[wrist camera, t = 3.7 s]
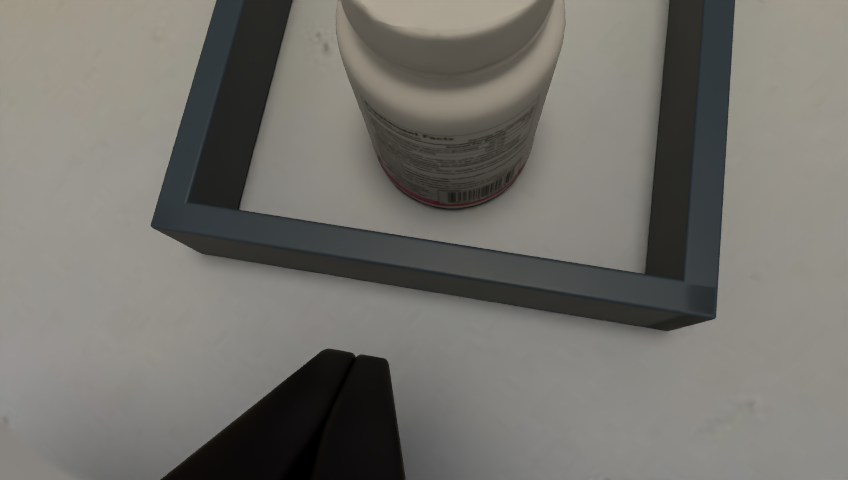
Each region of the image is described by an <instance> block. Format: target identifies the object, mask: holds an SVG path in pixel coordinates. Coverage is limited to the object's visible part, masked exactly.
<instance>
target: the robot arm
mask: <svg viewBox="0 0 848 480" xmlns="http://www.w3.org/2000/svg"><path fill="white" fill-rule="evenodd" d="M161 480H406V479H405V472H404V465H403V458H402V451H401V445H400V438H399V431H398V424H397V417H396V410H395V404H394V397H393V390H392V383H391V376H390V369H389V364H388V361H387V360H386V359H384V358H379V357H373V356H368V355H359V356H357V357H356V356H355V355H354V354H353V353H351V352H345V351H340V350H334V349H325V350H323V351H321V352H320V353H319V354H317V355H316V356H315V357H314V358H312V359H311V360H310V361H309V362H307V363H306V364H305V365H304V366H302V367H301V368H300V369H299V370H297V371H296V372H295V373H294V374H292V375H291V376H290V377H289V378H287V379H286V380H285V381H284V382H282V383H281V384H280V385H279V386H277V387H276V388H275V389H274V390H272V391H271V392H270V393H269V394H267V395H266V396H265V397H263V398H262V399H261V400H260V401H258V402H257V403H256V404H255V405H253V406H252V407H251V408H250V409H248V410H247V411H246V412H245V413H243V414H242V415H241V416H240V417H238V418H237V419H236V420H235V421H233V422H232V423H231V424H230V425H228V426H227V427H226V428H225V429H223V430H222V431H221V432H220V433H218V434H217V435H216V436H215V437H213V438H212V439H211V440H210V441H208V442H207V443H206V444H205V445H203V446H202V447H201V448H200V449H198V450H197V451H196V452H195V453H193V454H192V455H191V456H190V457H188V458H187V459H186V460H185V461H183V462H182V463H181V464H180V465H178V466H177V467H176V468H175V469H173V470H172V471H171V472H170V473H168V474H167V475H166V476H165V477H163V478H162V479H161Z"/></svg>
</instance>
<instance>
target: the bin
mask: <svg viewBox="0 0 848 480" xmlns="http://www.w3.org/2000/svg"><path fill="white" fill-rule="evenodd" d="M291 1H292V0H217V1H216V4H215V8H214V11H213V14H212V18H211V21H210V25H209V28H208V31H207V35H206V38H205V42H204V45H203V49H202V52H201V55H200V59H199V62H198V66H197V69H196V72H195V76H194V79H193V83H192V86H191V89H190V93H189V96H188V100H187V103H186V107H185V110H184V113H183V117H182V120H181V124H180V127H179V130H178V134H177V137H176V141H175V144H174V147H173V151H172V154H171V158H170V161H169V165H168V168H167V171H166V175H165V178H164V182H163V185H162V188H161V192H160V195H159V199H158V202H157V205H156V209H155V212H154V216H153V219H152V223H151V227H152V228H154V229H156V230H158V231H160V232H162V233H163V234H165V235H167V236H169V237H171V238H173V239H175V240H177V241H179V242H181V243H183V244H185V245H187V246H188V247H190V248H192V249H194V250H196V251H198V252H200V253H203V254H209V255H215V256H221V257H227V258H233V259H239V260H245V261H251V262H257V263H263V264H269V265H275V266H281V267H287V268H293V269H299V270H305V271H311V272H317V273H323V274H329V275H335V276H341V277H347V278H353V279H359V280H365V281H371V282H377V283H383V284H389V285H395V286H401V287H407V288H413V289H419V290H426V291H432V292H438V293H444V294H450V295H456V296H462V297H468V298H474V299H480V300H486V301H492V302H498V303H504V304H510V305H516V306H522V307H528V308H534V309H540V310H546V311H552V312H558V313H564V314H570V315H576V316H582V317H588V318H594V319H600V320H606V321H612V322H618V323H624V324H630V325H636V326H642V327H648V328H654V329H660V330H666V331H670V330H674V329H678V328H682V327H685V326H689V325H693V324H697V323H701V322H705V321H708V320H712V319H715V318H716V307H717V290H718V273H719V257H720V240H721V224H722V207H723V190H724V174H725V157H726V141H727V124H728V107H729V91H730V74H731V58H732V41H733V24H734V8H735V0H670V9H669V20H668V32H667V43H666V54H665V65H664V77H663V88H662V99H661V110H660V121H659V133H658V144H657V155H656V166H655V177H654V189H653V200H652V211H651V222H650V233H649V245H648V256H647V267H646V274H642V273H635V272H629V271H623V270H616V269H610V268H604V267H597V266H591V265H585V264H578V263H572V262H566V261H559V260H553V259H547V258H540V257H534V256H528V255H521V254H515V253H509V252H502V251H496V250H490V249H483V248H477V247H470V246H464V245H458V244H451V243H445V242H439V241H432V240H426V239H420V238H413V237H407V236H401V235H394V234H388V233H382V232H375V231H369V230H363V229H356V228H350V227H344V226H337V225H331V224H325V223H318V222H312V221H306V220H299V219H293V218H287V217H280V216H274V215H268V214H261V213H255V212H249V211H242V210H237V209H238V205H239V201H240V197H241V193H242V189H243V186H244V182H245V178H246V174H247V170H248V166H249V162H250V159H251V155H252V151H253V147H254V143H255V139H256V135H257V132H258V128H259V124H260V120H261V116H262V112H263V108H264V105H265V101H266V97H267V93H268V89H269V85H270V81H271V78H272V74H273V70H274V66H275V62H276V58H277V54H278V51H279V47H280V43H281V39H282V35H283V31H284V27H285V24H286V20H287V16H288V12H289V8H290V4H291Z"/></svg>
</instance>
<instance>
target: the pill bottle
mask: <svg viewBox="0 0 848 480" xmlns="http://www.w3.org/2000/svg"><path fill="white" fill-rule="evenodd" d="M564 30H565V5H564V0H338V4H337V10H336V34H337V39H338V45H339V49H340V53H341V57H342V60H343V64H344V67H345V70H346V72H347V75H348V78H349V81H350V83H351V86H352V89H353V91H354V94H355V97H356V99H357V102H358V105H359V108H360V110H361V112H362V115H363V118H364V121H365V124H366V127H367V129H368V132H369V135H370V137H371V140H372V143H373V146H374V149H375V152H376V154H377V157H378V159H379V162H380V164H381V166H382V168H383V170H384V171H385V173H386V174H387V176H388V177H389V178H390V179H391V181H392V182H393V183H394V184H395V185H396V186H397V187H398V188H400V189H401V190H402V191H403V192H405V193H406V194H408V195H409V196H411V197H413V198H414V199H416V200H418V201H421V202H423V203H426V204H429V205H432V206H437V207H442V208H462V207H469V206H473V205H477V204H480V203H483V202H485V201H487V200H489V199H492V198H494V197H495V196H497V195H498V194H500V193H501V192H502V191H504V190H505V189H506V188H507V187H508V186H509V185H510V184H511V183H512V182H513V181H514V180H515V179H516V177H517V176H518V175H519V173H520V172H521V170H522V169H523V167H524V165H525V163H526V161H527V159H528V157H529V154H530V151H531V148H532V144H533V141H534V136H535V131H536V128H537V125H538V121H539V118H540V115H541V112H542V108H543V105H544V102H545V98H546V95H547V92H548V89H549V86H550V83H551V79H552V76H553V73H554V70H555V66H556V63H557V60H558V57H559V54H560V50H561V47H562V43H563V37H564Z"/></svg>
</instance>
